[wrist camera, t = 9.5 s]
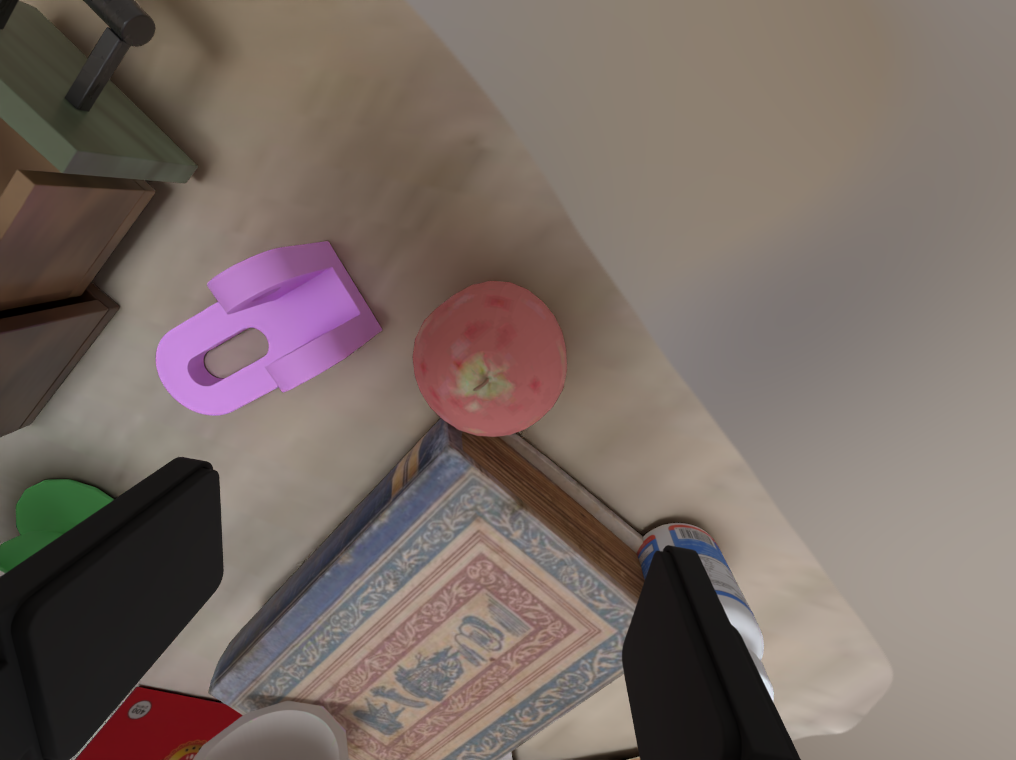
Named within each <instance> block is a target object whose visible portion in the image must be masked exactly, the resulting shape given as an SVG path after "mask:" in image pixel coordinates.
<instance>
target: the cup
mask: <svg viewBox="0 0 1016 760" xmlns="http://www.w3.org/2000/svg"><path fill="white" fill-rule="evenodd" d="M113 500H114V499H113V498H111V497H110V496H108V495H107V494H105V493H104V492H102V491H101V490H99V489H98V488H96V487H93V486H89V485H86V484H83V483H80V482H77V481H74V480H71V479H52V480H44V481H42V482H40V483H38V484H36V485H34V486H32V487H30V488H28V489H26V490H25V491H24V493H23V495H22V496H21V498H20V499H19V501H18V503H17V504H16V527H17V529H18V531H19V533H20V536H17V537H15V538H13V539H11V540H8V541H6V542H4V543H2V544H1V545H0V577H1V576H2V575H4V574H5V573H7V572H8V571H9V570H11V569H12V568H14V567H15V566H17V565H18V564H20V563H21V562H23V561H24V560H26V559H27V558H29V557H30V556H32V555H33V554H35V553H36V552H38V551H39V550H41V549H42V548H43V547H45V546H46V545H48V544H49V543H51V542H52V541H54V540H55V539H57V538H58V537H60V536H61V535H63V534H64V533H66V532H67V531H69V530H70V529H72V528H73V527H74V526H76V525H77V524H79V523H80V522H82V521H83V520H85V519H86V518H88V517H89V516H91V515H92V514H94V513H95V512H97V511H98V510H100V509H101V508H103V507H104V506H106V505H107V504H108V503H110V502H111V501H113Z"/></svg>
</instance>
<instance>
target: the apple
mask: <svg viewBox="0 0 1016 760" xmlns="http://www.w3.org/2000/svg"><path fill="white" fill-rule="evenodd" d="M413 364H414V372H415V378H416V380H417V383H418V386H419V389H420V392H421V394H422V395H423V397H424V398H425V400H426V401H427V403H428V405H429V406H430V408H432V409H433V410H434V411H435V412H436V413H437V414H438V415H439V416H440V417H441V418H442V419H443V420H444V421H446V422H447V423H449V424H450V425H452V426H453V427H455V428H457V429H458V430H460V431H463V432H467V433H470V434H473V435H476V436H488V437H497V436H505V435H511V434H514V433H517V432H519V431H522V430H525V429H526V428H528V427H529V426H531V425H532V424H534V423H536V422H537V421H539V420H540V419H541V418H542V417H543V416H544V415H545V414H546V413H547V412H548V411H549V410H550V409H551V408H552V407H553V406H554V404H555V402H556V401H557V399H558V397H559V395H560V394H561V392H562V390H563V387H564V382H565V377H566V372H567V358H566V347H565V342H564V338H563V333H562V331H561V328H560V326H559V324H558V322H557V320H556V318H555V316H554V315H553V314H552V312H551V311H550V310H549V309H548V308H547V306H546V305H545V304H544V303H543V301H541V300H540V299H539V298H538V297H536V296H535V295H534V294H533V293H531V292H530V291H529V290H528V289H525V288H523V287H520V286H518V285H515V284H513V283H511V282H499V281H487V282H483V283H478V284H474V285H470V286H469V287H467V288H465V289H463V290H462V291H460V292H458V293H456V294H455V295H453V296H452V297H450V298H449V299H448V300H447V301H445V302H444V303H443V304H441V305H440V306H439V307H437V308H436V309H435V310H434V311H433V312H432V313H431V314H430V315H429V316H428V317H427V318H426V319H425V320H424V322H423V324H422V326H421V328H420V330H419V332H418V334H417V336H416V339H415V344H414V351H413Z"/></svg>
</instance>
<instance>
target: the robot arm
mask: <svg viewBox="0 0 1016 760" xmlns="http://www.w3.org/2000/svg"><path fill="white" fill-rule="evenodd" d="M223 571H224V569H223V548H222V526H221V504H220V482H219V474H218V472H217V471H215V470H213V467H212V465H211V463H209V462H207V461H201V460H196V459H190V458H184V457H178V458H176V459H174V460H172V461H171V462H169V463H168V464H166V465H165V466H163V467H162V468H160V469H159V470H157V471H156V472H154V473H153V474H151V475H150V476H148V477H147V478H145V479H144V480H142V481H141V482H140V483H138V484H137V485H135V486H134V487H132V488H131V489H129V490H128V491H126V492H125V493H123V494H122V495H120V496H119V497H117V498H116V499H114V500H113V501H111V502H110V503H108V504H107V505H106V506H104V507H103V508H101V509H100V510H98V511H97V512H95V513H94V514H92V515H91V516H89V517H88V518H86V519H85V520H83V521H82V522H80V523H79V524H77V525H76V526H74V527H73V528H72V529H70V530H69V531H67V532H66V533H64V534H63V535H61V536H60V537H58V538H57V539H55V540H54V541H52V542H51V543H49V544H48V545H46V546H45V547H43V548H42V549H41V550H39V551H38V552H36V553H35V554H33V555H32V556H30V557H29V558H27V559H26V560H24V561H23V562H21V563H20V564H18V565H17V566H15V567H14V568H12V569H11V570H9V571H8V572H7V573H5V574H4V575H2V576H1V577H0V760H69V759H71V758H72V757H73V756H75V755H76V754H77V753H78V752H79V750H80V749H81V748H82V747H83V746H84V745H85V744H86V742H87V741H88V740H89V739H90V738H91V737H92V735H93V734H94V733H95V732H96V731H97V729H98V728H99V727H100V726H101V725H102V724H103V722H104V721H105V720H106V719H107V718H108V717H109V715H110V714H111V713H112V712H113V711H114V710H115V708H116V707H117V706H118V705H119V704H120V703H121V701H122V700H123V699H124V698H125V697H126V695H127V694H128V693H129V692H130V691H131V690H132V688H133V687H134V686H135V685H136V684H137V683H138V681H139V680H140V679H141V678H142V677H143V676H144V674H145V673H146V672H147V671H148V670H149V669H150V667H151V666H152V665H153V664H154V663H155V661H156V660H157V659H158V658H159V657H160V656H161V654H162V653H163V652H164V651H165V650H166V649H167V647H168V646H169V645H170V644H171V643H172V642H173V640H174V639H175V638H176V637H177V636H178V634H179V633H180V632H181V631H182V630H183V629H184V627H185V626H186V625H187V624H188V623H189V622H190V620H191V619H192V618H193V617H194V616H195V615H196V613H197V612H198V611H199V610H200V609H201V608H202V606H203V605H204V604H205V603H206V602H207V600H208V599H209V598H210V597H211V596H212V595H213V593H214V592H215V591H216V590H217V588H218V587H219V585H220V583H221V580H222V577H223ZM622 665H623V670H624V676H625V681H626V686H627V692H628V697H629V702H630V708H631V713H632V719H633V724H634V729H635V735H636V740H637V745H638V751H639V756H640V760H801V759H800V758H799V755H798V753H797V751H796V749H795V747H794V745H793V743H792V740H791V738H790V736H789V734H788V732H787V730H786V728H785V726H784V724H783V722H782V720H781V717H780V715H779V713H778V711H777V709H776V707H775V705H774V703H773V701H772V699H771V697H770V695H769V692H768V690H767V688H766V686H765V684H764V682H763V680H762V678H761V676H760V674H759V672H758V670H757V667H756V665H755V663H754V661H753V659H752V657H751V655H750V653H749V651H748V649H747V647H746V645H745V642H744V640H743V638H742V636H741V635H740V633H739V631H738V630H737V629H736V628H735V627H734V626H733V625H731V623H730V621H729V619H728V617H727V615H726V613H725V610H724V608H723V606H722V604H721V602H720V600H719V598H718V595H717V593H716V591H715V589H714V587H713V585H712V583H711V581H710V578H709V576H708V574H707V572H706V570H705V568H704V566H703V563H702V561H701V559H700V557H699V555H698V553H697V552H696V551H695V550H693V549H687V548H682V547H676V546H670V545H667V546H665V547H664V549H663V551H656V552H655V553H654V555H653V558H652V561H651V564H650V567H649V570H648V573H647V576H646V578H645V581H644V584H643V587H642V590H641V593H640V596H639V599H638V602H637V605H636V608H635V611H634V614H633V617H632V620H631V623H630V626H629V628H628V631H627V634H626V637H625V640H624V643H623V648H622Z"/></svg>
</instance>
